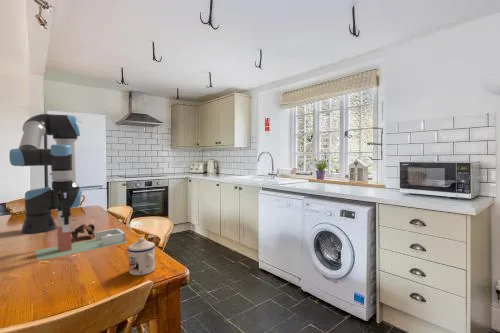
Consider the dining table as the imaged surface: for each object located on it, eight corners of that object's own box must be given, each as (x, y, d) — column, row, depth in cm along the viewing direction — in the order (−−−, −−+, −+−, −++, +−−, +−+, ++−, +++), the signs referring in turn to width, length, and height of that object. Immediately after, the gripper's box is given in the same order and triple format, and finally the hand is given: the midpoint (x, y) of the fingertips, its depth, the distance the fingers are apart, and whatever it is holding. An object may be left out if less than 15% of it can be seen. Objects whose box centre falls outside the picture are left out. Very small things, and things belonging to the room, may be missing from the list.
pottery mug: (90, 242, 132) (79, 229, 130) (74, 250, 134) (64, 237, 132) (103, 229, 144) (94, 217, 141) (89, 236, 145) (79, 224, 143)
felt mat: (34, 250, 119) (34, 250, 119) (118, 235, 142) (118, 234, 142) (37, 261, 107) (37, 260, 107) (127, 242, 130) (127, 242, 130)
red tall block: (57, 249, 120) (56, 222, 120) (70, 247, 123) (69, 220, 123) (59, 252, 117) (58, 224, 116) (71, 249, 120) (70, 222, 119)
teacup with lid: (123, 271, 98) (122, 239, 97) (147, 263, 104) (147, 233, 104) (140, 281, 90) (139, 246, 89) (164, 272, 96) (164, 239, 96)
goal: (96, 240, 133) (96, 231, 133) (118, 235, 140) (118, 228, 140) (102, 246, 124) (102, 237, 124) (125, 241, 131) (125, 233, 131)
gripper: (48, 178, 126) (50, 223, 127) (55, 183, 107) (57, 237, 108) (68, 177, 130) (69, 220, 132) (77, 182, 112) (79, 233, 113)
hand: (64, 228), depth 120 cm, fingers open, 13 cm apart
